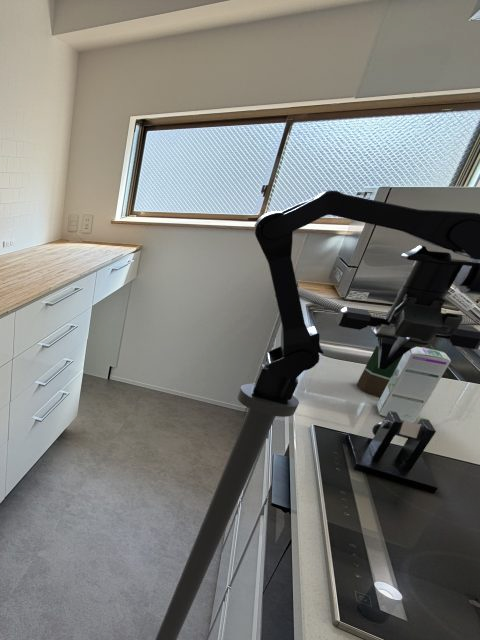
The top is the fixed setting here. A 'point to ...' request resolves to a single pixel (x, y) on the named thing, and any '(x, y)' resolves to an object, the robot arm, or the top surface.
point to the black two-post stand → (394, 454)
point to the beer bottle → (377, 374)
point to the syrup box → (413, 383)
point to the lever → (403, 429)
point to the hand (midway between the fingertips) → (381, 368)
